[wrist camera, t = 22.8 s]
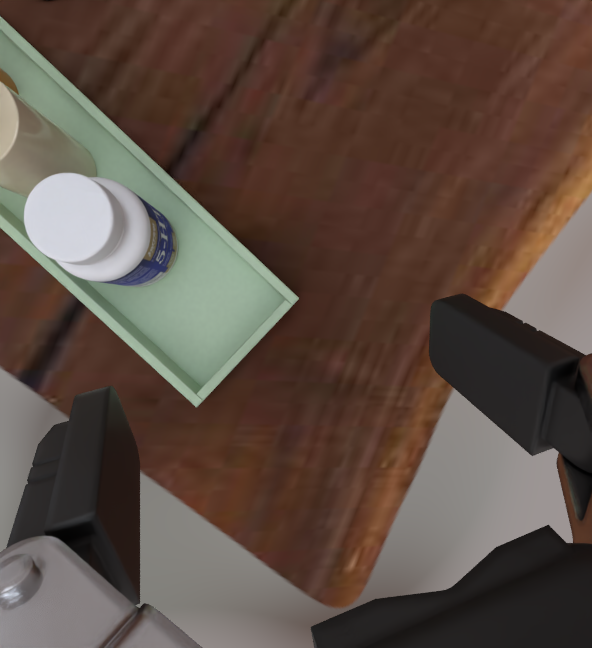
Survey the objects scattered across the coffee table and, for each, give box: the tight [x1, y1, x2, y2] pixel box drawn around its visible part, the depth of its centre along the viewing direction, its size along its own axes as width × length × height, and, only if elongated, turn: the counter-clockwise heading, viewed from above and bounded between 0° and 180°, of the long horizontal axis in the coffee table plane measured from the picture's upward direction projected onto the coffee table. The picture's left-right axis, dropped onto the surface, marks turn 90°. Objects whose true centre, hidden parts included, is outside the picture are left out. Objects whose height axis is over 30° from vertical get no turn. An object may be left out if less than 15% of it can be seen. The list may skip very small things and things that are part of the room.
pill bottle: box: [24, 173, 178, 287], centre depth 23 cm, size 5×5×9 cm
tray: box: [0, 16, 299, 407], centre depth 27 cm, size 9×27×3 cm, turn 47°
